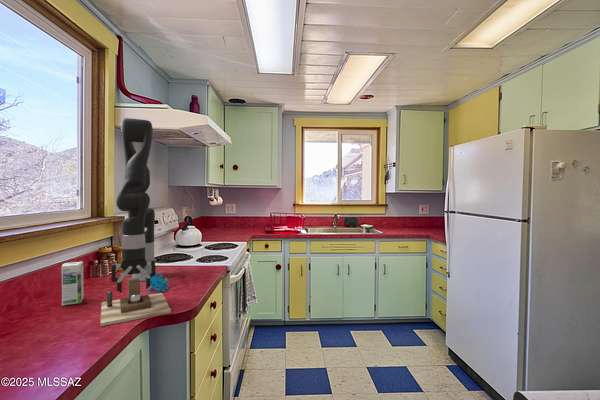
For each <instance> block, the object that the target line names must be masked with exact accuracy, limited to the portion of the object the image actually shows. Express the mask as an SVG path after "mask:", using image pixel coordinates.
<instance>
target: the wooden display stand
mask: <svg viewBox="0 0 600 400" xmlns="http://www.w3.org/2000/svg"><path fill="white" fill-rule="evenodd" d="M127 284H128V285H127V289H128V290H127V291H128V292H127V293H128V295H127V297H126V298H125V297H124V298H120V299H119V300H120V308H121V313H124V312H129V311H135V310H141V309H146V308H151V301H150V298H149V295H150V294H145V295H144V294H143V295H141V281H140V279H139V277H136V278H132V277H130V278H127ZM135 293H139V294H140V302H138V303H132V304H130V295H131V294H135Z"/></svg>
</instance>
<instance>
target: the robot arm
mask: <svg viewBox="0 0 600 400" xmlns="http://www.w3.org/2000/svg"><path fill="white" fill-rule="evenodd" d="M120 131H121V139H122V145H123V152H124V153H123V154H124V162H125V163H124V165H125V166H124V167H125V169H124V170H125V171H124V179H123V180H124V181H123V184H122V187H121V189H120V191H119V194H118V195H117V198H116V204H115V205H116V206H117V209H118V210H119V211H120V212H128V213H127V214H128V215H127V217H126V218H125V219H123V220H122V238H121V262H120V263H115V262H114V263H112V264H111V273H110V274H111V276H110V281H111V282H112V283H114V282H115V283H116V291H117V292H119V293H123V279H124V278H126V276H127V275H129V276H130V275H131V278H136V277H139V279H140V282H143V281H144V282H145V289H148V290H149V288H150V287H151V286H150V278H151V277H153V276H155V275H156V273H157V272H156V261H155V224H156V223H155V221H156V213H155V210H154V208H150V207H149V206H150V203H151V198H150V196H149V194H148V193H147V191H148V189H149V188H150V185H151V171H150V168H149V167H148V162H149V161H148V160H149V157H150V152H151V147H152V142H153V135H154V132H153V124H152V122H151V121H150V120H147V119H141V118H140V119H139V118H131V117H129V118H128V117H127V118H126V117H125V118H123V119H122V121H121V123H120ZM134 143H141V146H140V148H139V149H138V150H137V151H136V149H135V147H134ZM145 228H146V230H145ZM119 268H121V269H122V271H121V273H120V274H119V276H117V277H116V274H117V273H116V272H117V271H118V270H119Z"/></svg>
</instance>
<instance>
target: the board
mask: <svg viewBox="0 0 600 400" xmlns="http://www.w3.org/2000/svg"><path fill="white" fill-rule="evenodd" d="M148 295H149V298H150V301H151V308H146V309H141V310H135V311H129V312H124V313H121V308H120V299H115V300H112V306H111V307H107V301H103V302H101V308H100V309H101V310H100V327H104V326H109V325H115V324H120V323H125V322H131V321H135V320H140V319H146V318H151V317H156V316H161V315H165V314H167V315H168V314H171V313H172V309H171V308H170V307H171V306H170V305H169V304H168V302H167V300H166V298H165V296H164V294H163V292H159V293H158V292H157V293H151V294H148Z"/></svg>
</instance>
